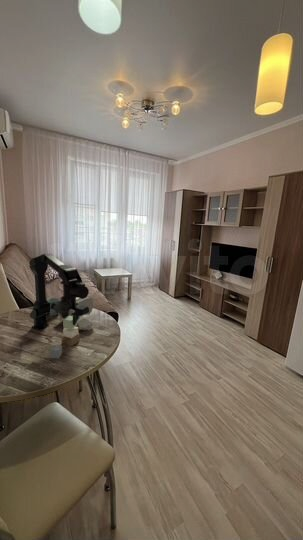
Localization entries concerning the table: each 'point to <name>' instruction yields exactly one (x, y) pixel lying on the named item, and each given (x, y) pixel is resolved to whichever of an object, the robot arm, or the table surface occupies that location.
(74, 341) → the tower base
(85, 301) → the alarm clock
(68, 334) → the tower top
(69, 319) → the sage cube
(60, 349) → the slate cube
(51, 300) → the cup
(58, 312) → the robot arm
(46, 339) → the table surface
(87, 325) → the die
